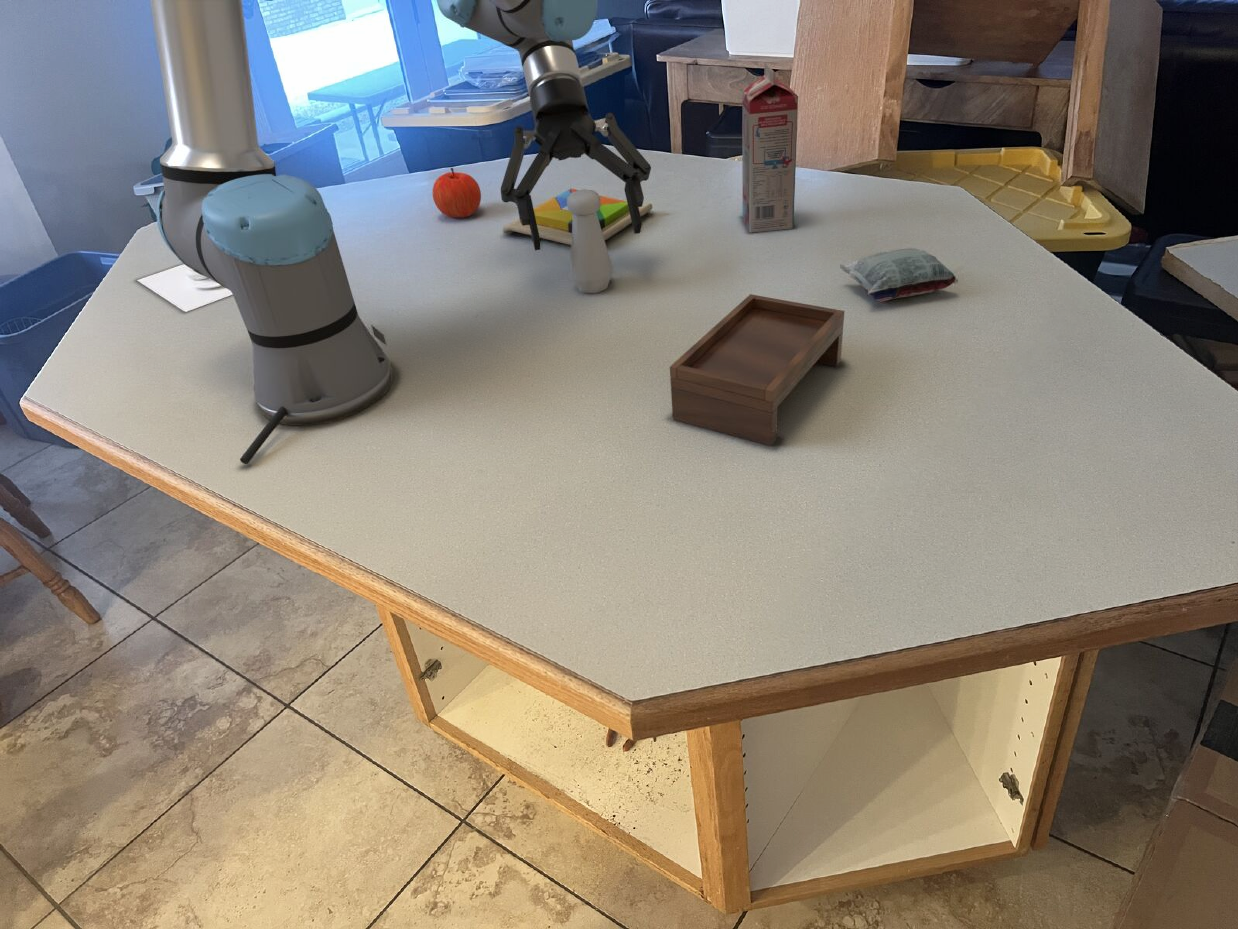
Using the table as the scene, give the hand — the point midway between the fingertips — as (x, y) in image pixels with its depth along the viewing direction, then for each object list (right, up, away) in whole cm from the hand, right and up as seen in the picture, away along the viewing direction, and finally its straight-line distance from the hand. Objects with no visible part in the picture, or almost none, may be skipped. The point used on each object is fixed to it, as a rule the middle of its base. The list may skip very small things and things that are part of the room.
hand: (588, 237), depth 108 cm
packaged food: (+39, -8, -4) cm, 40 cm away
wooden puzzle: (-2, +9, +25) cm, 26 cm away
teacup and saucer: (-58, 0, +21) cm, 62 cm away
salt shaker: (+1, -6, +4) cm, 7 cm away
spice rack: (+19, -22, -21) cm, 36 cm away
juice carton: (+27, +7, +18) cm, 33 cm away
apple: (-23, +13, +34) cm, 43 cm away
